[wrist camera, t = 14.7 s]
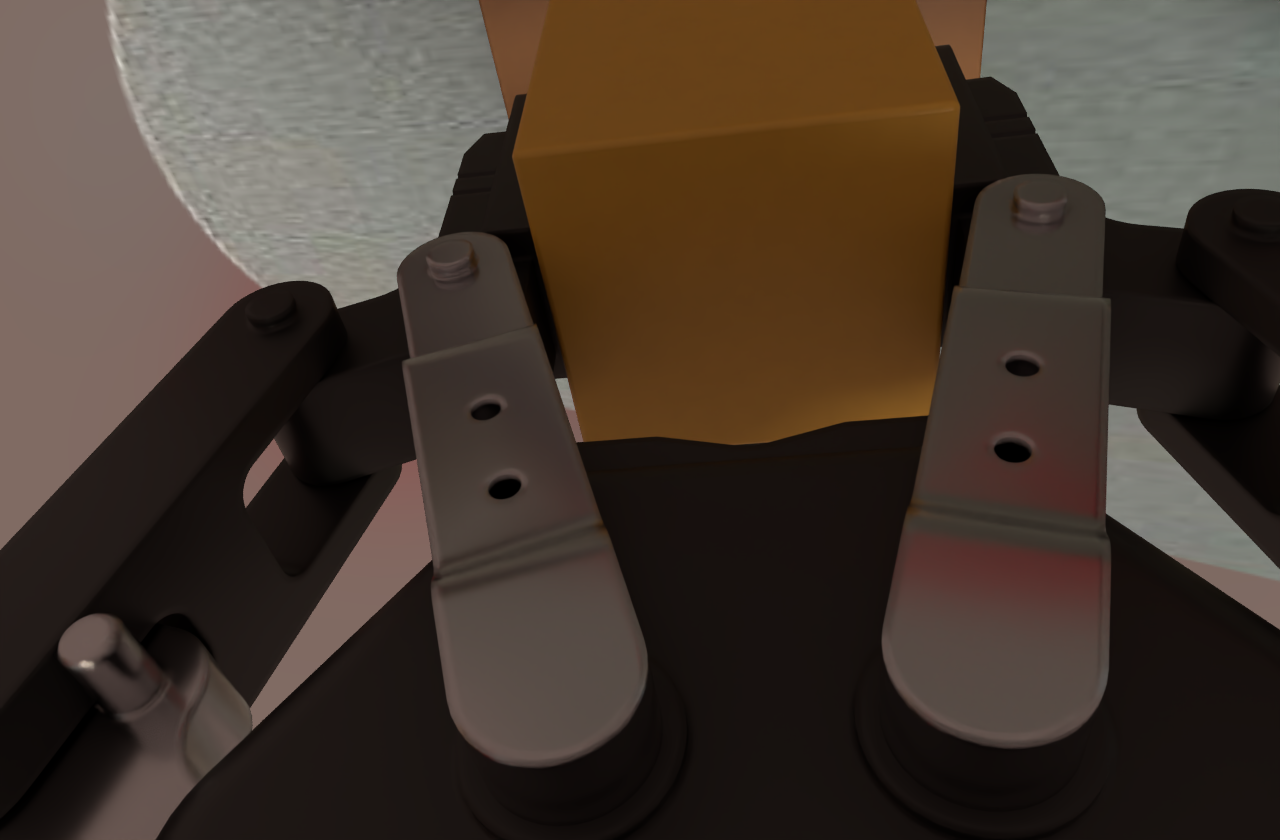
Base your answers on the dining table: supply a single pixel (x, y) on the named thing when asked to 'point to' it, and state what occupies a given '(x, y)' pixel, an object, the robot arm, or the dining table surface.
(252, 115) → the dining table surface
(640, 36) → the block
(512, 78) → the cabinet
